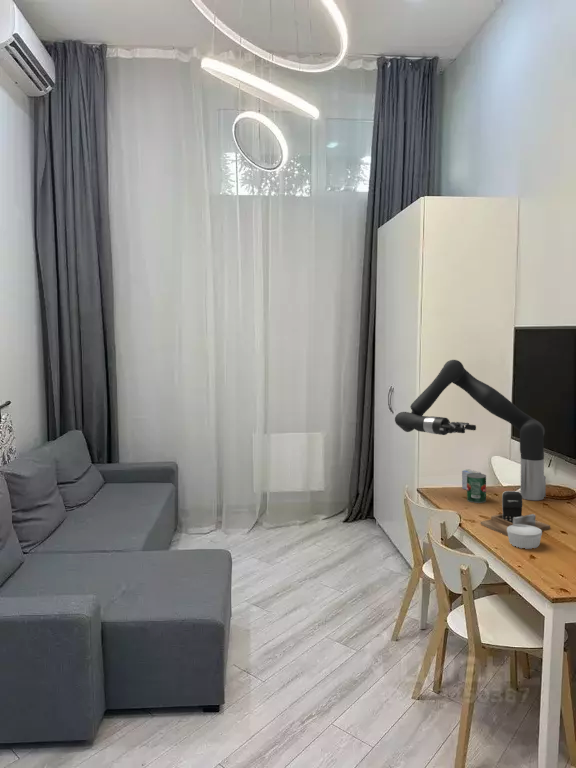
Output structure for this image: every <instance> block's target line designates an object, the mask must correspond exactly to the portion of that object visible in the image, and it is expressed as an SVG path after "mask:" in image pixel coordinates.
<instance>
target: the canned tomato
mask: <svg viewBox="0 0 576 768" xmlns="http://www.w3.org/2000/svg"><path fill="white" fill-rule="evenodd" d="M466 500H467V502H468V503H469V502H470V503H473V502H474V504H481V503H486V502H487V475H486V474H484V473H481V474H480V473H470V474H467V490H466Z"/></svg>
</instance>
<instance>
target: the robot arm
mask: <svg viewBox="0 0 576 768" xmlns="http://www.w3.org/2000/svg"><path fill="white" fill-rule="evenodd" d="M451 384H454V385H456V386H457V387H458V388H460V389H461V390H463V391H465V392H466V393H467V394H468V395H469V396H470V397H471V398H472V399H473V400H474V401H475V402H476V403H477V404H479V405H480V406H481V407H482V408H484V409H485V410H486V411H487V412H489V413H490V414H492V415H494V416H496V417H497V418H500V419H501V420H503V421H506V423H507V422H508V423H509V424H510V425H512V427H514V428H515V429H517V430H518V432H519V451H520V493H521V494H522V500H523V499H524V500H526V501H542V500H544V499H545V498H546V490H547V489H546V487H547V486H546V485H547V481H546V478H547V476H546V475H545V451H544V436H545V434H546V429H545V427H544V425H543V424H542V423H541V422H540V421H539V420H537V419H535V418H533V417H532V416H530V415H529V414H527V413H525V412H523V411H522V410H521V409H520V408H519V407H518V406H516V405H515V404H514V403H513V402H511V400H509V399H508V398H507V397H506V396H505V395H503V394H502V393H501V392H499V391H498V390H497V389H495V388H493V387H492V386H491V385H489V384H487V383H485V382H483V381H481V380H479V379H477V377H474V376H473V375H472V374H471V373H470V372H469V371H468V370H467V369H466V368H465V367H464V365H463V363H462V362H461V361H460V360H457V359H450V360H448V361H446V362H445V364H443V367H442V368H441V370H440V371H439V372H438V374H437V375H436V377H435V378H434V379H433V381H432V382H430V384H429V385H428V386H427V388H425V389H424V390H423V391H422V393H420V394H419V396H417V398H416V399H415V400H414V401H413V402H412V403H411V405H410V409H411V412H409V411H408V412H407V411H401V412H398V413H397V414H396V415H395V417H394V422H395V424H396V425H397V426H398V427H399V428H400V429H401V430H402V431H404V432H406V433H409V432H412V431H413V430H416V431H417V432H421V433H429V434H432V435H433V434H434V435H440V436H446V435H448V434H456V433H459V434H465V433H466V431H467V430H468V431H476V430H477V426H476V424H470V423H469V422H463V421H450V419H449V418H447V417H442V416H428V415H427V416H426V415H425V413H426V412H427V411H429V409H430V408H431V407H432V406H433V404H434V403H435V402H436V401H437V400H438V399H439V397H440V395H441V394H442V393H443V392H444V390H446V389H447V387H448V386H450V385H451ZM544 497H545V498H544Z"/></svg>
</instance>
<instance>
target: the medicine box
mask: <svg viewBox="0 0 576 768" xmlns="http://www.w3.org/2000/svg"><path fill="white" fill-rule="evenodd" d="M470 473H480V474H482V472H481V471H476V470H472V469H464V470H461V484H462V487H461V488H462V489H463V490H466V491H467V474H470Z"/></svg>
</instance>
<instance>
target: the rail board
mask: <svg viewBox="0 0 576 768" xmlns="http://www.w3.org/2000/svg"><path fill="white" fill-rule="evenodd" d="M480 524H482V525H481V526H483V525H484V526H483V527H485V526H486V528H487V527H488V528H487V529H490V530H492V531H494V532H497V533H499V534H501V533H502V535H504V536H506V537H508V532H507V527H508V526H511V525H529V526H534V527H537V528H539V529H541V530H542V531H545V530H551V525H550V524H548V523H545V522H542V521H539V520H536V514H534V513H531V514H527V515H523V514H522V516H520V517H515V518H513V523H511V522H509V521H506V520H504V519H503V513H499V514H493V515H491V516H490V519H487V520H481V521H480Z"/></svg>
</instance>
